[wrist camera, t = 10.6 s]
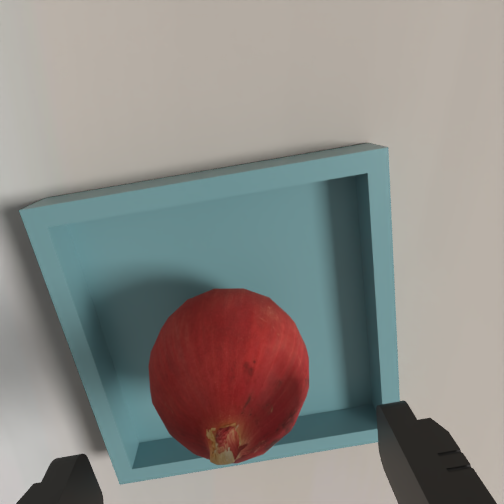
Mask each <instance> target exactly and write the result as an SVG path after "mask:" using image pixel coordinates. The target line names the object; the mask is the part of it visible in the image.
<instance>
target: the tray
mask: <svg viewBox="0 0 504 504" xmlns="http://www.w3.org/2000/svg"><path fill="white" fill-rule="evenodd" d="M19 212H20V215H21V218H22V220H23V223H24V226H25V228H26V231H27V234H28V237H29V239H30V242H31V245H32V247H33V250H34V253H35V256H36V258H37V261H38V264H39V266H40V269H41V272H42V275H43V277H44V280H45V283H46V285H47V288H48V291H49V294H50V296H51V299H52V302H53V304H54V307H55V310H56V313H57V315H58V318H59V321H60V323H61V326H62V329H63V332H64V334H65V337H66V340H67V342H68V345H69V348H70V351H71V353H72V356H73V359H74V361H75V364H76V367H77V370H78V372H79V375H80V378H81V380H82V383H83V386H84V389H85V391H86V394H87V397H88V399H89V402H90V405H91V408H92V410H93V413H94V416H95V418H96V421H97V424H98V427H99V429H100V432H101V435H102V437H103V440H104V443H105V446H106V448H107V451H108V454H109V456H110V459H111V462H112V465H113V467H114V470H115V473H116V475H117V478H118V481H119V484H126V483H132V482H138V481H144V480H150V479H157V478H163V477H169V476H175V475H181V474H187V473H193V472H199V471H205V470H211V469H217V468H223V467H229V466H235V465H241V464H247V463H254V462H260V461H266V460H272V459H278V458H284V457H290V456H296V455H302V454H308V453H314V452H320V451H326V450H332V449H338V448H344V447H351V446H357V445H363V444H369V443H375V442H378V430H377V415H376V407H377V405H381V404H387V403H393V402H399V401H400V398H399V376H398V354H397V331H396V309H395V287H394V265H393V243H392V220H391V198H390V176H389V154H388V147H385V146H380V145H376V144H372V143H364V144H358V145H352V146H347V147H341V148H335V149H329V150H323V151H317V152H312V153H306V154H300V155H294V156H288V157H282V158H276V159H271V160H265V161H259V162H253V163H247V164H241V165H235V166H230V167H224V168H218V169H212V170H206V171H200V172H195V173H189V174H183V175H177V176H171V177H165V178H159V179H154V180H148V181H142V182H136V183H130V184H124V185H118V186H113V187H107V188H101V189H95V190H89V191H83V192H78V193H72V194H66V195H60V196H54V197H48V198H44V199H42V200H40V201H38V202H36V203H34V204H31V205H29V206H27V207H25V208H23V209H21V210H19ZM234 288H244V289H247V290H249V291H252V292H255V293H258V294H261V295H264V296H267V297H269V298H270V299H272V300H273V301H274V302H275V303H276V304H277V305H278V306H279V307H280V308H281V309H283V310H284V311H285V312H286V313H287V314H288V315H289V316H290V317H291V319H292V320H293V321H294V322H295V324H296V326H297V328H298V330H299V333H300V335H301V337H302V339H303V341H304V343H305V345H306V348H307V352H308V356H309V389H308V393H307V397H306V399H305V401H304V404H303V406H302V408H301V411H300V413H299V415H298V418H297V420H296V422H295V425H294V426H293V428H292V430H291V431H290V432H289V433H288V434H287V435H285V436H284V437H283V438H282V439H281V440H279V441H278V442H277V443H276V444H275V445H274V446H272V447H271V448H270V449H269V450H268V451H267V452H266V453H264V454H263V455H260V456H257V457H254V458H252V459H249V460H246V461H243V462H240V463H237V464H236V463H231V464H227V465H216V464H214V463H211V462H210V460H209V459H206V458H203V457H200V456H198V455H195V454H193V453H192V452H191V451H189V450H188V449H187V448H186V447H184V446H183V445H182V444H181V443H179V442H178V441H177V440H176V439H174V438H173V437H172V436H171V435H170V434H169V432H168V431H167V429H166V427H165V425H164V424H163V422H162V420H161V418H160V416H159V415H158V413H157V411H156V409H155V407H154V406H153V404H152V399H151V394H150V381H149V360H150V353H151V350H152V348H153V346H154V344H155V341H156V339H157V337H158V335H159V332H160V330H161V328H162V327H163V325H164V323H165V322H166V320H167V319H168V317H169V316H170V315H172V314H173V313H174V312H175V311H176V310H177V309H178V308H179V307H180V306H181V305H182V304H183V303H184V302H185V301H186V300H188V299H190V298H193V297H195V296H197V295H200V294H202V293H205V292H207V291H210V290H212V289H234Z"/></svg>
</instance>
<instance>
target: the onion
mask: <svg viewBox="0 0 504 504" xmlns="http://www.w3.org/2000/svg"><path fill="white" fill-rule="evenodd" d="M149 381H150V394H151V399H152V404H153V406H154V407H155V409H156V411H157V413H158V415H159V416H160V418H161V420H162V422H163V424H164V425H165V427H166V429H167V431H168V432H169V434H170V435H171V436H172V437H173V438H174V439H176V440H177V441H178V442H179V443H181V444H182V445H183V446H184V447H186V448H187V449H188V450H189V451H191V452H192V453H193V454H195V455H198V456H200V457H203V458H206V459H209V460H210V462H211V463H214V464H216V465H227V464H231V463H236V464H237V463H240V462H243V461H246V460H249V459H252V458H254V457H257V456H260V455H263V454H264V453H266V452H267V451H268V450H269V449H270V448H271V447H272V446H274V445H275V444H276V443H277V442H278V441H279V440H281V439H282V438H283V437H284V436H285V435H287V434H288V433H289V432H290V431H291V430H292V428H293V426H294V425H295V422H296V420H297V418H298V415H299V413H300V411H301V408H302V406H303V404H304V401H305V399H306V397H307V393H308V389H309V356H308V352H307V348H306V345H305V343H304V341H303V339H302V337H301V335H300V333H299V330H298V328H297V326H296V324H295V322H294V321H293V320H292V319H291V317H290V316H289V315H288V314H287V313H286V312H285V311H284V310H283V309H281V308H280V307H279V306H278V305H277V304H276V303H275V302H274V301H273V300H272V299H270V298H269V297H267V296H264V295H261V294H258V293H255V292H252V291H249V290H247V289H244V288H234V289H212V290H210V291H207V292H205V293H202V294H200V295H197V296H195V297H193V298H190V299H188V300H186V301H185V302H184V303H183V304H182V305H181V306H180V307H179V308H178V309H177V310H176V311H175V312H174V313H173V314H172V315H170V316H169V317H168V319H167V320H166V322H165V323H164V325H163V327H162V328H161V330H160V332H159V335H158V337H157V339H156V341H155V344H154V346H153V348H152V350H151V353H150V360H149Z"/></svg>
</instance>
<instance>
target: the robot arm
mask: <svg viewBox="0 0 504 504" xmlns="http://www.w3.org/2000/svg"><path fill="white" fill-rule="evenodd" d="M376 415H377V430H378V445H379V453H380V457H381V461H382V465H383V468H384V471H385V473H386V476H387V478H388V480H389V483H390V485H391V487H392V490H393V492H394V494H395V497H396V499H397V502H398V504H497V503H496V502H495V500H494V499H493V497H492V496H491V494H490V493H489V491H488V490H487V488H486V487H485V485H484V484H483V482H482V481H481V479H480V478H479V477H478V475H477V474H476V472H475V471H474V469H473V468H471V466H470V463H469V462H468V460H467V459H466V457H465V456H464V454H463V453H461V451H460V448H459V447H458V445H457V444H456V442H455V441H454V439H453V438H452V436H451V435H450V433H449V432H448V431H447V430H446V429H444V428H443V427H442V426H440V425H439V424H438V423H436V422H435V421H434V420H432V419H431V418H427V419H421V420H417V419H416V417H415V415H414V414H413V412H412V410H411V409H410V407H409V405H408V404H407V403H406V402H405V401H399V402H393V403H387V404H381V405H377V407H376ZM16 504H103V495H102V492H101V489H100V487H99V484H98V482H97V479H96V477H95V474H94V472H93V469H92V467H91V464H90V462H89V459H88V457H87V456H86V455H85V454H79V455H73V456H68V457H62V458H56V459H54V460H53V461H52V462H51V464H50V466H49V468H48V470H47V472H46V474H45V476H44V478H43V480H42V482H41V483H35V484H33V485H32V486H31V487H30V489H29V490H28V491H27V492H26V493H25V494H24V495H23V496H22V498H21V499H20V500H19V501H18V502H17V503H16Z"/></svg>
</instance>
